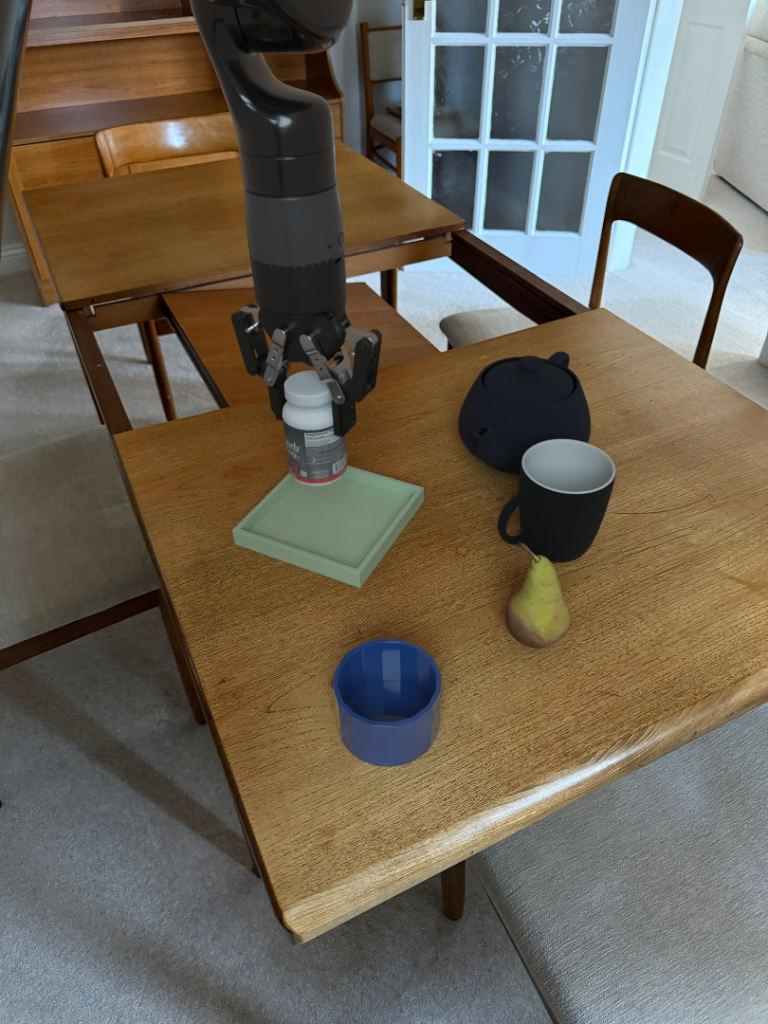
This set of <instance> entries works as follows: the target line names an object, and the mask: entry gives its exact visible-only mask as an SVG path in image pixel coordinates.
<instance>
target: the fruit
mask: <svg viewBox="0 0 768 1024" xmlns="http://www.w3.org/2000/svg"><path fill="white" fill-rule="evenodd" d="M516 546H517V547H520V548H521V549H523V550H524V551H526V552H527V553H528V554H529V555H530V556H531V557H532V560H531V562H530V565H529V567H528V569H527V572H526V574H525V578H524V580H523V583H522V585H521V587H520V588H519V589H518V591H516V592H515V593H514V594H513V595H512V596H511V597H510V599H509V600H508V602H507V605H506V608H505V625H506V628H507V630H508V632H509V634H510V635H511V636H512V637H513V638H514V639H516V641H517V642H519V643H520V644H523V645H525V646H526V647H530V648H533V649H539V650H540V649H545V648H548V647H551V646H553V645H555V644H557V643H558V642H559V641H560V642H561V640H562V639H563V638H565V636H567V634H568V632H569V630H570V628H571V625H572V617H571V616H572V615H571V612H570V608H569V605H568V603H567V601H566V600H565V599H564V596H563V591H562V586H561V583H560V579H559V577H558V576H559V575H558V572H557V569H556V568H555V566H554V565H553V562H551V561H550V560H548V559H547V558H546V557H544V556H541V555H538V556H536V555H535V554H533V553H532V552H531V551H530V550H529V548H528V547H527V546H526V544H523V543H520V542H518V543H517V545H516Z"/></svg>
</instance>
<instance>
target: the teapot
mask: <svg viewBox="0 0 768 1024" xmlns="http://www.w3.org/2000/svg"><path fill="white" fill-rule="evenodd" d="M570 360H571V359H570V355H569V354H568V353H567V352H566V351H561V350H560V351H555V352H554V353H552V354H551V355H550V356H549V357H548V358H542V357H539V356H537V355H524V356H510V357H505V358H501V359H498V360H495V361H493V362H491V363H490V364H488V365H486V366H485V367H484V368H483V369H482V370H481V371H480V373H479V374H478V376H476V379H475V380H474V382H473V384H472V385H471V387H470V388H469V390H468V392H467V394H466V396H465V398H464V399H463V402H462V404H461V406H460V407H461V408H460V411H459V413H458V419H457V420H458V422H457V429H458V434H459V437H460V440H461V441H462V443H463V445H464V447H465V448H466V449H467V450H468V451H469V453H471V454H472V455H473V456H474V457H476V458H477V459H478V460H480V461H481V462H482V463H484V464H485V465H487V466H489V467H490V468H492V469H495V470H497V471H499V472H502V473H506V474H511V475H518V476H520V467H521V461H522V458H523V455H524V454H525V452H526V451H527V450H528V449H529V448H531V447H532V446H534V445H536V444H538V443H540V442H543V441H547V440H553V439H570V440H577V441H582V442H585V443H588V444H589V440H590V437H591V431H592V421H591V420H592V419H591V412H590V408H589V407H590V406H589V404H588V401H587V398H586V397H587V396H586V394H585V392H584V389H583V386H582V383H581V381H580V378H579V377H578V375H577V374H576V373H575V372H574V371H573V370H572V369H570V368H569V366H570Z"/></svg>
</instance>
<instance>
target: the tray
mask: <svg viewBox="0 0 768 1024" xmlns="http://www.w3.org/2000/svg"><path fill="white" fill-rule="evenodd" d="M424 502H425V487H423V486H421V485H417V484H413V483H410V482H406V481H403V480H399V479H396V478H392V477H390V476H385V475H382V474H379V473H375V472H371V471H368V470H365V469H362V468H358V467H354V466H351V465H348V464H347V470H346V472H345V474H344V476H343V477H342V478H341V479H339V480H338V481H336V482H334V483H332V484H329V485H326V486H317V487H314V486H307V485H303V484H301V483H299V482H297V481H296V480H294V479H293V477H292V476H291V474H290V472H288V473H287V474H286V475H285V477H283V478H282V479H281V480H280V481H279V482H278V484H276V485H275V487H273V489H272V490H271V491H269V493H268V494H266V495H265V496H264V497H263V498H262V499H261V500H260V501H259V502H258V503H257V504H256V506H254V508H252V509H251V510H250V511H249V513H247V514H246V515H245V516H244V517H243V518H242V519H241V520H240V522H239V523H237V524H236V525H235V527H233V529H231V532H232V536H233V542H234V545H236V546H239V547H243V548H245V549H247V550H251V551H253V552H256V553H259V554H261V555H264V556H266V557H267V556H268V557H270V558H273V559H276V560H279V561H280V562H284V563H286V564H290V565H292V566H295V567H298V568H301V569H304V570H307V571H310V572H313V573H315V574H318V575H321V576H324V577H326V578H329V579H333V580H335V581H337V582H341V583H344V584H346V585H348V586H351V587H354V588H357V589H361V588H362V587H363V586H364V584H365V583H366V581H368V579H369V577H370V576H371V574H372V573H373V572H374V571H375V569H376V568H377V566H378V565H379V564H380V562H381V561H382V559H383V558H384V557H385V555H386V554H387V553H388V552H389V550H390V549H391V547H392V546H393V545H394V543H395V542H396V541H397V539H398V538H399V536H400V535H401V534H402V532H403V531H404V529H405V528H406V527H407V526H408V524H409V523H410V522H411V520H412V519H413V517H415V514H416V513H417V512H418V510H420V508H421V507H422V505H423V504H424Z"/></svg>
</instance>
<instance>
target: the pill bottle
mask: <svg viewBox="0 0 768 1024" xmlns="http://www.w3.org/2000/svg"><path fill="white" fill-rule="evenodd" d="M288 377H289V378H288V379H287V380H286V381H285V383H284V390H285V398H286V400H287V402H286V403H285V405H284V407H283V410H282V419H283V421H282V425H283V432H284V433H283V434H284V439H285V449H286V457H287V464H288V471H289V473H290V474H291V476H292V477H293V479H294V480H296V481H297V482H299V483H301V484H303V485H307V486H314V487H317V486H326V485H329V484H332V483H334V482H336V481H338V480H339V479H341V478H342V477H343V476H344V474H345V472H346V470H347V465H348V455H347V441H346V440H347V439H346V435H345V436H344V437H338V436H335V435H334V427H333V415H332V402H333V401H334V399H333V397H332V395H331V393H330V391H329V389H328V387H327V385H326V383H325V382H322V381H321V380H320V379H319V377H318V375H317V373H316V370H315V369H314V370H303V371H299V372H295V373H294V374H291V375H290V376H288Z"/></svg>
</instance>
